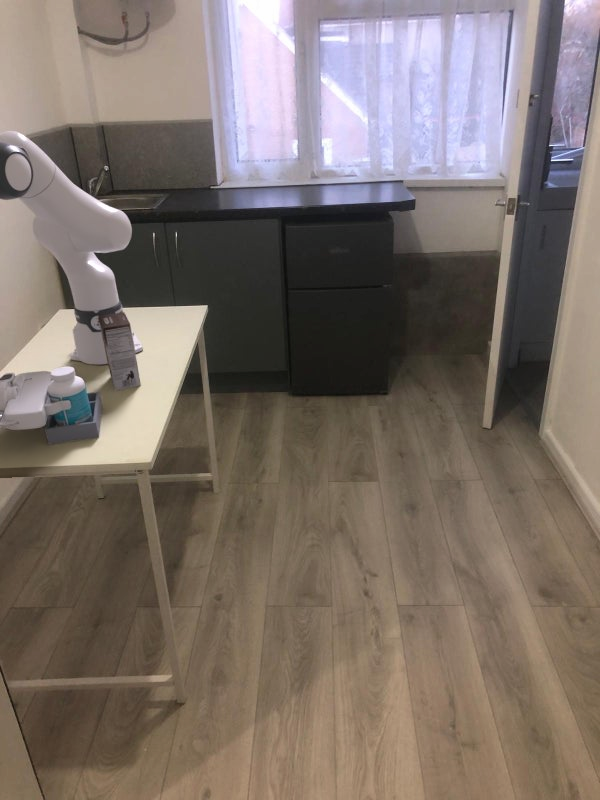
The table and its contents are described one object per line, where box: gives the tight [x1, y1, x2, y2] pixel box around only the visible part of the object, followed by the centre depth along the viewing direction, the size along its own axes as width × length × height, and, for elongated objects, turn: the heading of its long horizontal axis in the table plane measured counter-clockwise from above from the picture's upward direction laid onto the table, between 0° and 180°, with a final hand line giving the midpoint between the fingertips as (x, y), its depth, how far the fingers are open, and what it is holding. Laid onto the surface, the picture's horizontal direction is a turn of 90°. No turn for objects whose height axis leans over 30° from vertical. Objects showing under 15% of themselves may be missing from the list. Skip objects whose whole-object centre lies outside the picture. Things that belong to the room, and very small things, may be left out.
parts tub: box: [44, 391, 103, 445], centre depth 139 cm, size 15×10×4 cm, turn 13°
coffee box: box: [98, 311, 142, 391], centre depth 155 cm, size 9×6×16 cm
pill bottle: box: [48, 366, 94, 427], centre depth 135 cm, size 8×7×14 cm
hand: (72, 394), depth 135 cm, fingers closed on pill bottle, 7 cm apart
